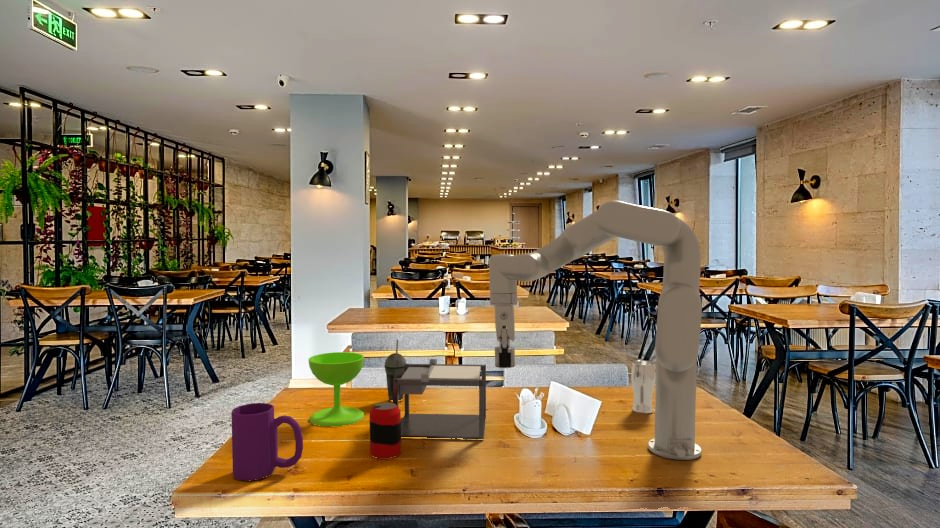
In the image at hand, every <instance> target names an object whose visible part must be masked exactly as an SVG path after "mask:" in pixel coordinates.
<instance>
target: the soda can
mask: <svg viewBox="0 0 940 528" xmlns="http://www.w3.org/2000/svg"><path fill="white" fill-rule="evenodd" d="M401 413H402V412H401V409H400V407H399V408H398V407H397V405H396V404H394V403H393V402H380V403H376V404H374V405H373V407H372V408H371V409H370V410H369V454H371V455H372V456H374V457H377V458H390V457H394V456H397V455H398V454H399V455H400V454H401V452H402V447H401V446H402V439H401V421H402V419H401ZM371 455H370V456H371ZM399 455H398V456H399ZM372 456H371V457H372ZM398 456H397V457H398ZM374 457H373V458H374ZM394 458H395V457H394Z"/></svg>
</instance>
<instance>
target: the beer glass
mask: <svg viewBox="0 0 940 528" xmlns="http://www.w3.org/2000/svg"><path fill="white" fill-rule="evenodd" d="M630 376H631V377H630V379H631V387H632V393H633V394H632V395H633V404H632V411H633V412H634V413H637V414H647V415H648V414H652V413H653V412H654V408H653V401H652V400H653V394H654V389H655V385H656V362H653V361H651V360H643V359H641V360H640V359H639V360H633V361H632V363H631V375H630Z"/></svg>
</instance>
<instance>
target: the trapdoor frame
mask: <svg viewBox="0 0 940 528" xmlns="http://www.w3.org/2000/svg"><path fill="white" fill-rule="evenodd" d="M428 362H429V363H406V364H404V373H405V372H406V370H407V369H408V368H409V367H430V366H431V365H432V364H433V365H435V366H481V370H480V372H481V379H480V378H479V379H429V373H422V374H421V379H411V378H394V379H393V402H392V403H394V404H396V405H397V407H398V408H399V409H400V407H399V403H400V402H399V401H398V385H425V386H426V387H427V386H431V387H432V386H433V387H435V386H437V387H439V386H440V387H478V414H455V413H454V414H452V413H449V414H447V413H410V394H404V416H403V417H402V419H401V437H427V438H451V439H452V438H455V439H457V438H463V439H484V440H485V432H484V431H485V430H486V422H485V420H486V421H487V405H486V404H487V364H462V363H461V364H460V363H459V364H457V363H456V364H455V363H454V364H453V363H451V364H450V363H448V364H447V363H442V364H441V363H438V359H437V358H430V359H429V361H428Z"/></svg>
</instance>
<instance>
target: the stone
mask: <svg viewBox="0 0 940 528" xmlns="http://www.w3.org/2000/svg"><path fill="white" fill-rule="evenodd" d="M515 348H516V347H515V346H511V345H510V352H511V367H499V352H500V345H499V346H496V347H494V367H496V368H499V369H512V368H514V367H516V356H515V355H516V353H515V352H516V349H515Z"/></svg>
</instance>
